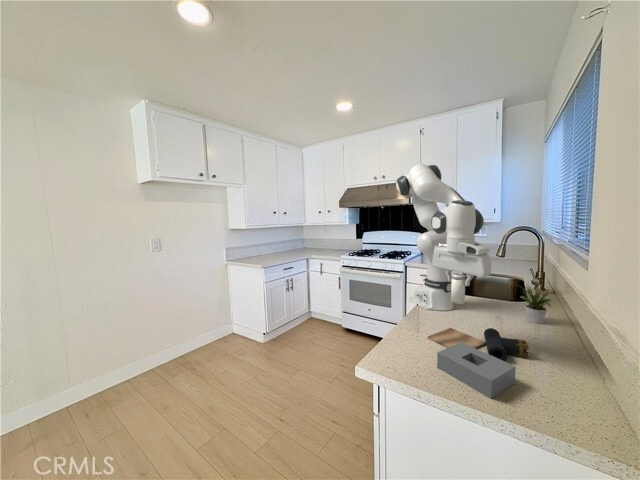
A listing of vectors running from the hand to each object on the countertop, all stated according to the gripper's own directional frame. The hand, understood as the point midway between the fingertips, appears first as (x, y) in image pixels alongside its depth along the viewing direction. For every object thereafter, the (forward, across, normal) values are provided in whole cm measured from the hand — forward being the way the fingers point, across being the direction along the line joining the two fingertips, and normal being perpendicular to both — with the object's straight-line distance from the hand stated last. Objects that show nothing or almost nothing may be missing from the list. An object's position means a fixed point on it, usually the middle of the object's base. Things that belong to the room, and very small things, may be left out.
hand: (458, 283), depth 93 cm
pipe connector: (+23, +13, +7) cm, 27 cm away
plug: (+7, 0, 0) cm, 7 cm away
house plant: (+23, +6, +43) cm, 49 cm away
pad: (+22, 0, 0) cm, 22 cm away
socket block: (+22, +15, -14) cm, 30 cm away
